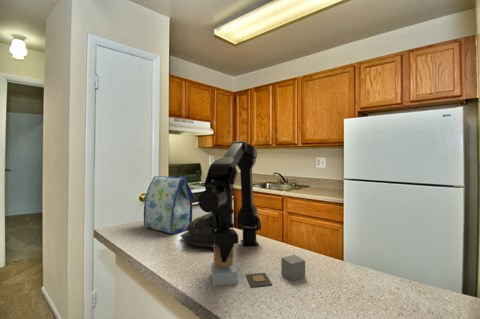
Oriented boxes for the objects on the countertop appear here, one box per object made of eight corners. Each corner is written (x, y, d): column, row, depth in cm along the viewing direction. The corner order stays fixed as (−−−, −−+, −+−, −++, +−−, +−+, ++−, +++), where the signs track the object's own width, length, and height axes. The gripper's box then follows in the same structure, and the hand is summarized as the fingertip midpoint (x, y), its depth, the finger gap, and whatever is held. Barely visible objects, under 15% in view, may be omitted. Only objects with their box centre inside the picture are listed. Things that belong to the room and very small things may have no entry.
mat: (245, 275, 74) (245, 273, 74) (265, 273, 75) (265, 271, 75) (251, 287, 67) (251, 285, 67) (272, 285, 68) (272, 283, 68)
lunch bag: (196, 227, 124) (196, 176, 124) (171, 236, 110) (171, 178, 110) (166, 221, 136) (166, 174, 136) (140, 228, 122) (140, 176, 122)
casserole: (244, 242, 102) (244, 222, 102) (212, 256, 88) (212, 233, 88) (203, 231, 118) (203, 214, 118) (170, 241, 103) (170, 222, 103)
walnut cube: (213, 259, 74) (213, 243, 74) (230, 258, 75) (230, 241, 75) (215, 266, 69) (215, 249, 69) (232, 265, 70) (232, 247, 70)
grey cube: (281, 273, 75) (281, 257, 75) (294, 270, 77) (294, 254, 77) (291, 281, 70) (291, 263, 70) (305, 277, 73) (305, 260, 73)
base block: (211, 274, 75) (211, 263, 75) (233, 272, 76) (233, 261, 76) (213, 286, 68) (213, 273, 68) (237, 284, 69) (237, 271, 69)
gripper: (194, 200, 80) (195, 248, 80) (194, 213, 61) (194, 275, 61) (228, 199, 82) (229, 246, 82) (238, 211, 63) (238, 272, 63)
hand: (222, 258), depth 72 cm, fingers closed on walnut cube, 5 cm apart
